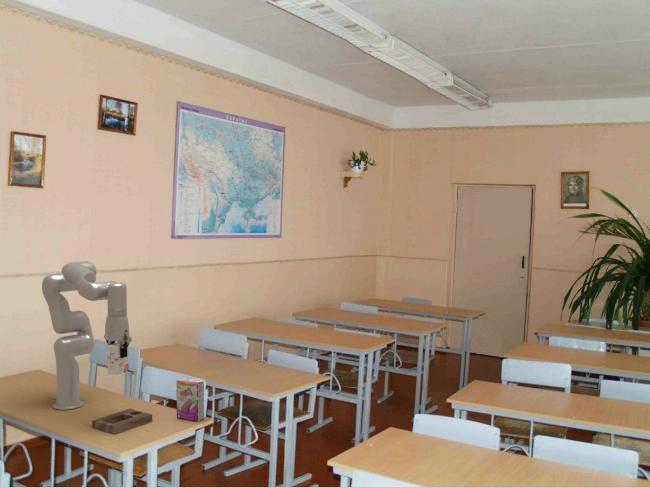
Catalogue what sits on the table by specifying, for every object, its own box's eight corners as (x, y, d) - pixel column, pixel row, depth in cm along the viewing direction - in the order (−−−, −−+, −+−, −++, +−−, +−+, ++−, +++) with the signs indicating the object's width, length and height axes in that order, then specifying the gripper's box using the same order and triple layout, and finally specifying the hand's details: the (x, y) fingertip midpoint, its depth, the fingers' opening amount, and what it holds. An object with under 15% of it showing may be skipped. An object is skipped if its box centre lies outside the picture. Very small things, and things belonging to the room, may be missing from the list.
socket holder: (92, 427, 259) (92, 420, 259) (129, 415, 275) (129, 408, 274) (114, 434, 251) (114, 426, 251) (152, 421, 267) (152, 414, 267)
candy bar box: (175, 418, 271) (175, 380, 270) (183, 415, 275) (183, 377, 275) (197, 422, 266) (197, 383, 265) (204, 418, 271) (204, 380, 270)
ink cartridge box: (118, 369, 268) (117, 334, 268) (128, 370, 267) (128, 335, 267) (107, 374, 260) (106, 338, 259) (118, 375, 259) (117, 338, 258)
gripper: (95, 312, 264) (96, 355, 265) (124, 315, 255) (125, 360, 256) (110, 310, 270) (111, 352, 271) (138, 313, 261) (139, 357, 262)
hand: (118, 356), depth 263 cm, fingers closed on ink cartridge box, 6 cm apart
